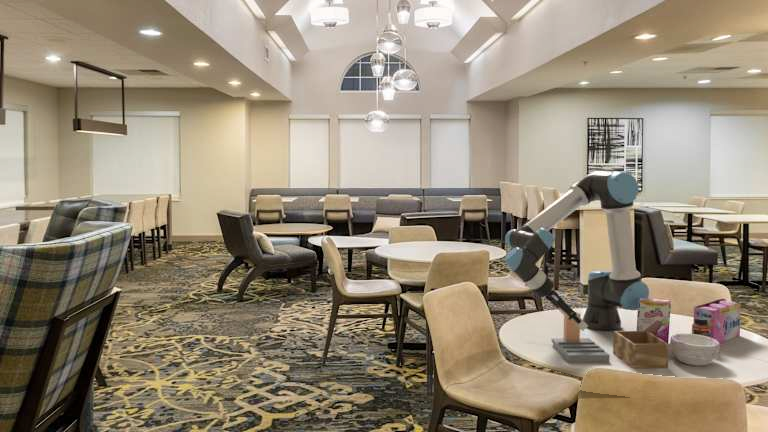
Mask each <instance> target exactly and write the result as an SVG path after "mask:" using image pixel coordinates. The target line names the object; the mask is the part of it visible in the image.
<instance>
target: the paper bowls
mask: <svg viewBox="0 0 768 432" xmlns="http://www.w3.org/2000/svg"><path fill="white" fill-rule="evenodd" d="M669 338H670V341H669V342H670V343H669V351H670V352H671V353H672V354H674V355H675V357H676V359H677V360H678V361H679V362H681V363H683V364H686V365H691V366H699V367H700V366H701V367H703V366H707V365H710V364H711V363H712V362H713V361H714V360H716V359H718V358H719V356H720V345H721V343H719V342H718V341H717V340H715V339H713V338H710V337H706V336H702V335H697V334H692V333H686V332H685V333H683V332H682V333H681V332H680V333H674V334H671V335H670V337H669Z"/></svg>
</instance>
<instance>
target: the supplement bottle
mask: <svg viewBox="0 0 768 432" xmlns="http://www.w3.org/2000/svg"><path fill="white" fill-rule="evenodd" d="M691 334H697V335H702V336H706V337H710V326H709V325H708V324H707V318H702V317H696V318H695V323H693V322H692V325H691Z"/></svg>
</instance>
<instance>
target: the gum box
mask: <svg viewBox="0 0 768 432" xmlns="http://www.w3.org/2000/svg"><path fill="white" fill-rule="evenodd" d="M741 303H742V302H741V301H737V302H735V301H730V300H726V298H719V299H716V300H713V301H709V302H706V303H703V304H700V305H696V306H693V307H694V308H693V322H692V324H693V323H695V318H696V317H702V318H707V324H708V325H709V326H710V338H713V339H715V340H717V341H718V342H719V343H720V344H723V343H724V342H726V341H730V340H731V339H735V338H737V337H740V335H741Z"/></svg>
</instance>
